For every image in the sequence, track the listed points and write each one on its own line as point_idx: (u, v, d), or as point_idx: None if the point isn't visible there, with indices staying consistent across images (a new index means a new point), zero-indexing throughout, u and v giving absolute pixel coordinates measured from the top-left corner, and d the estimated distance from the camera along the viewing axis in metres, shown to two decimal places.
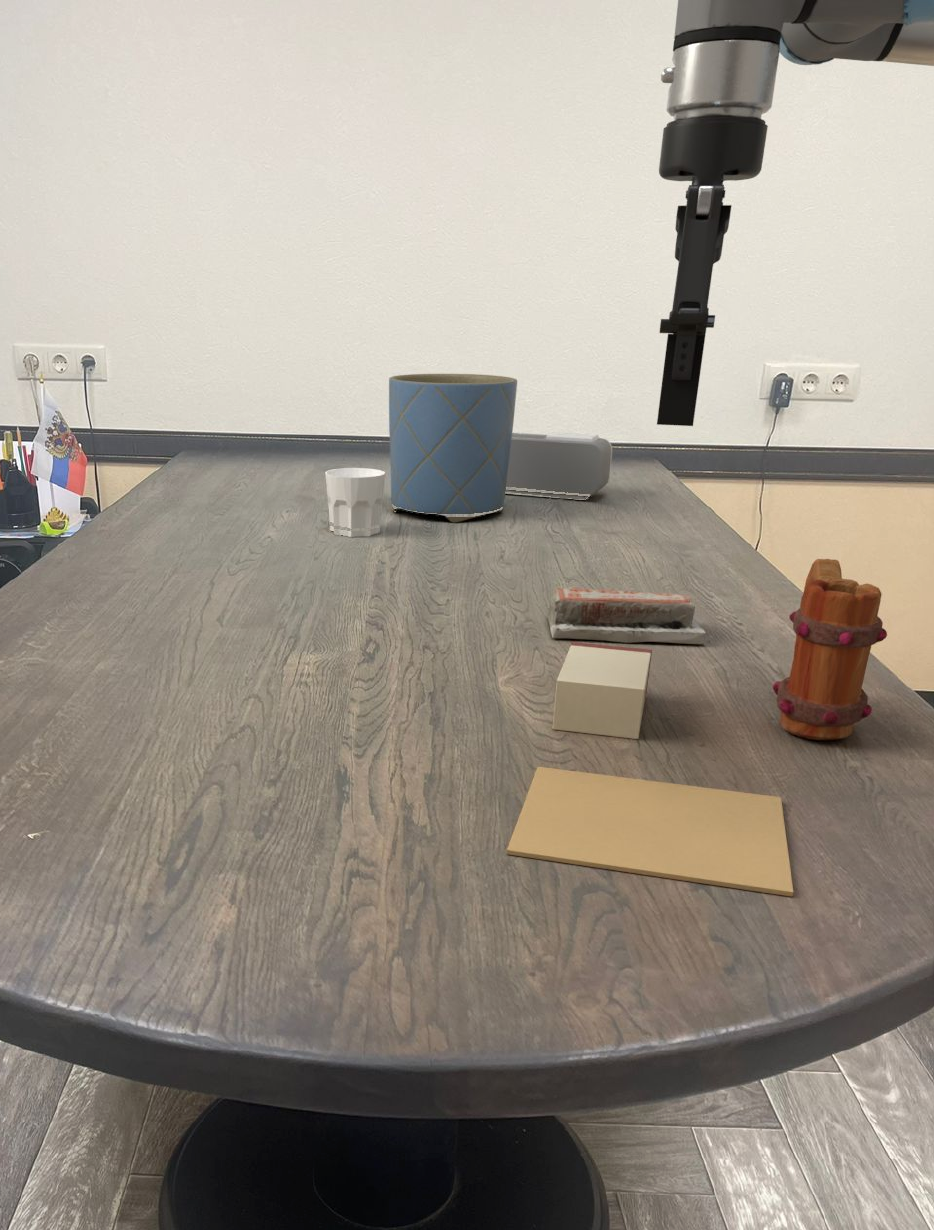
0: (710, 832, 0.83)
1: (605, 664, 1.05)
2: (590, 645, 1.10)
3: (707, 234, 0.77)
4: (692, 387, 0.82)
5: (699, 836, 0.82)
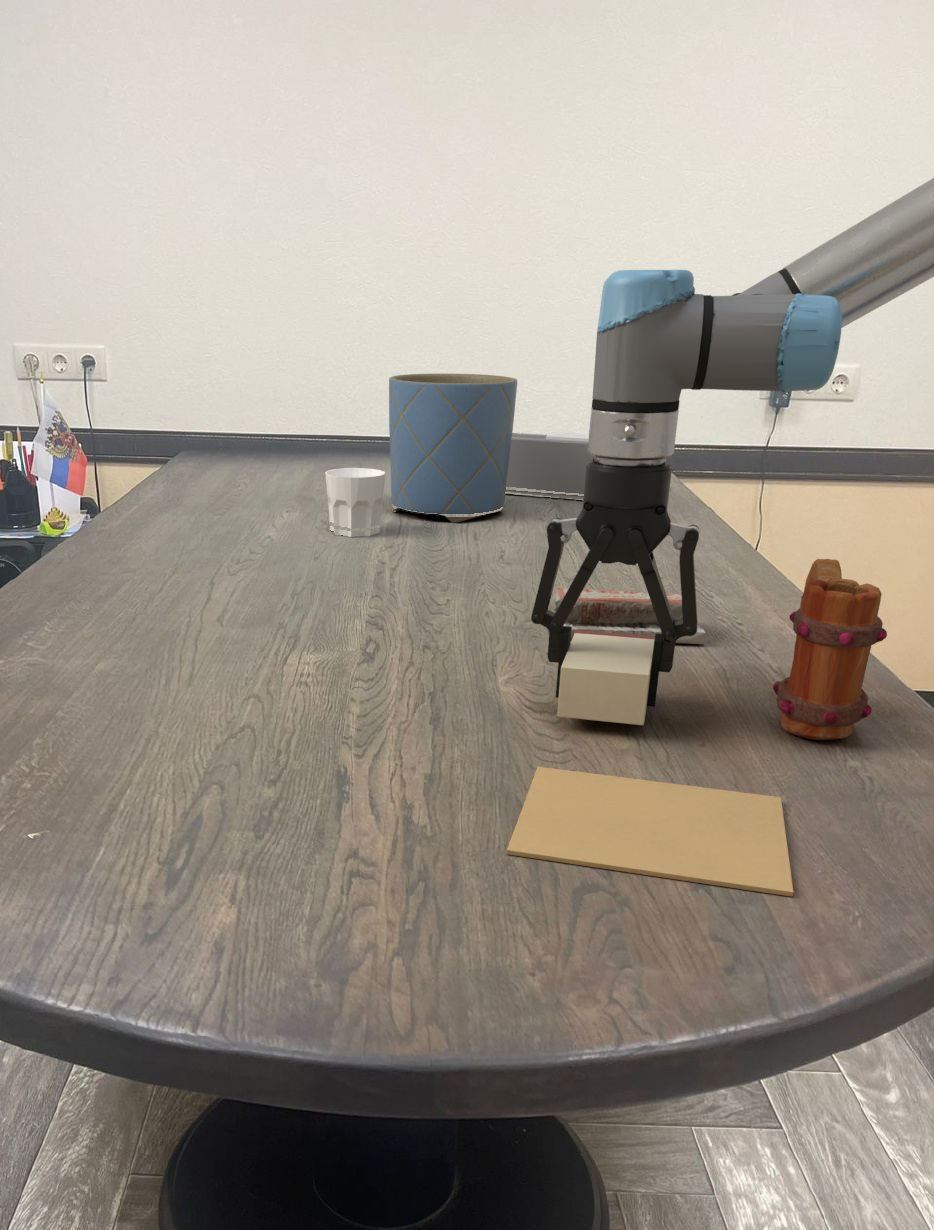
0: (710, 832, 0.83)
1: (610, 650, 1.04)
2: (594, 632, 1.10)
3: None
4: None
5: (699, 836, 0.82)
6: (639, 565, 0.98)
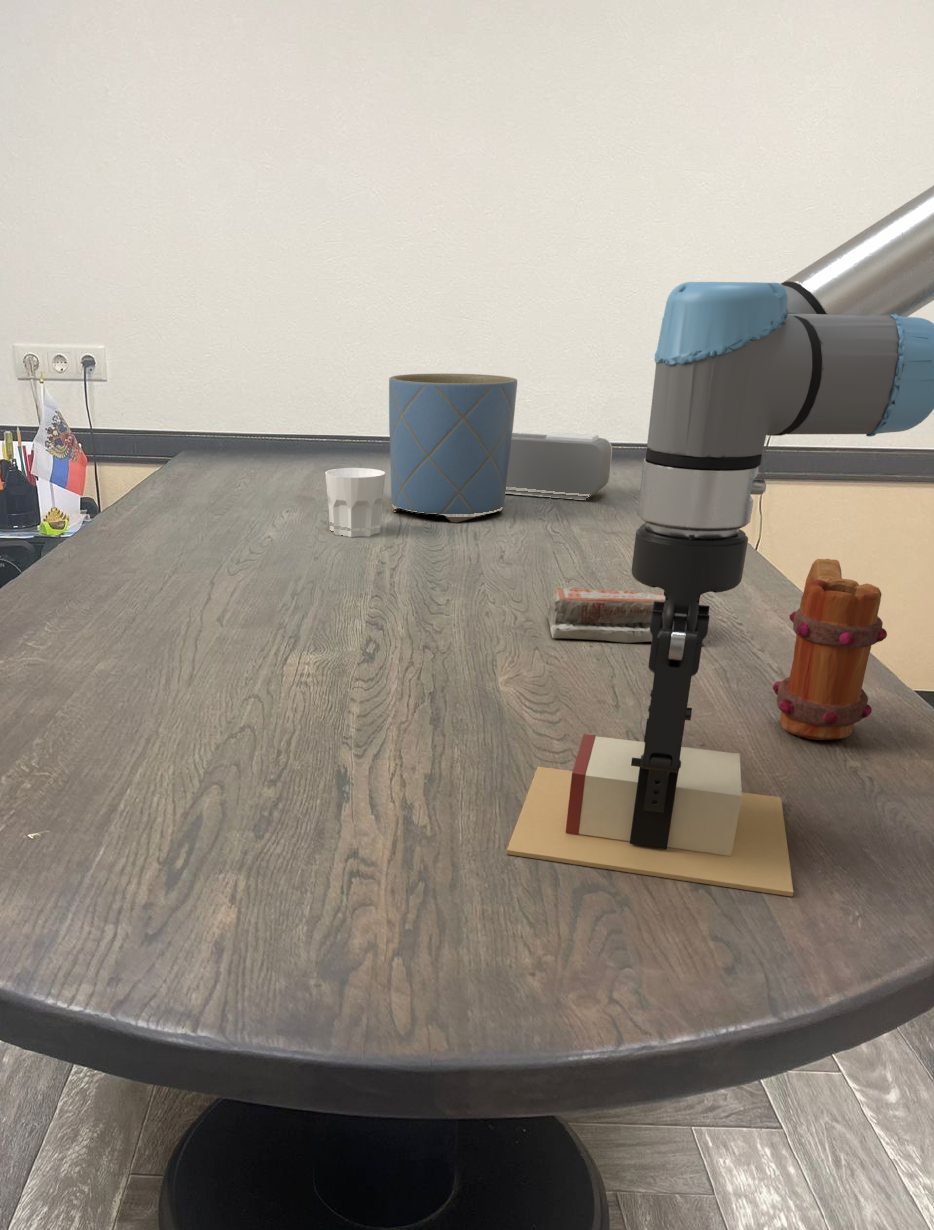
0: None
1: None
2: (578, 763, 0.82)
3: None
4: None
5: None
6: None
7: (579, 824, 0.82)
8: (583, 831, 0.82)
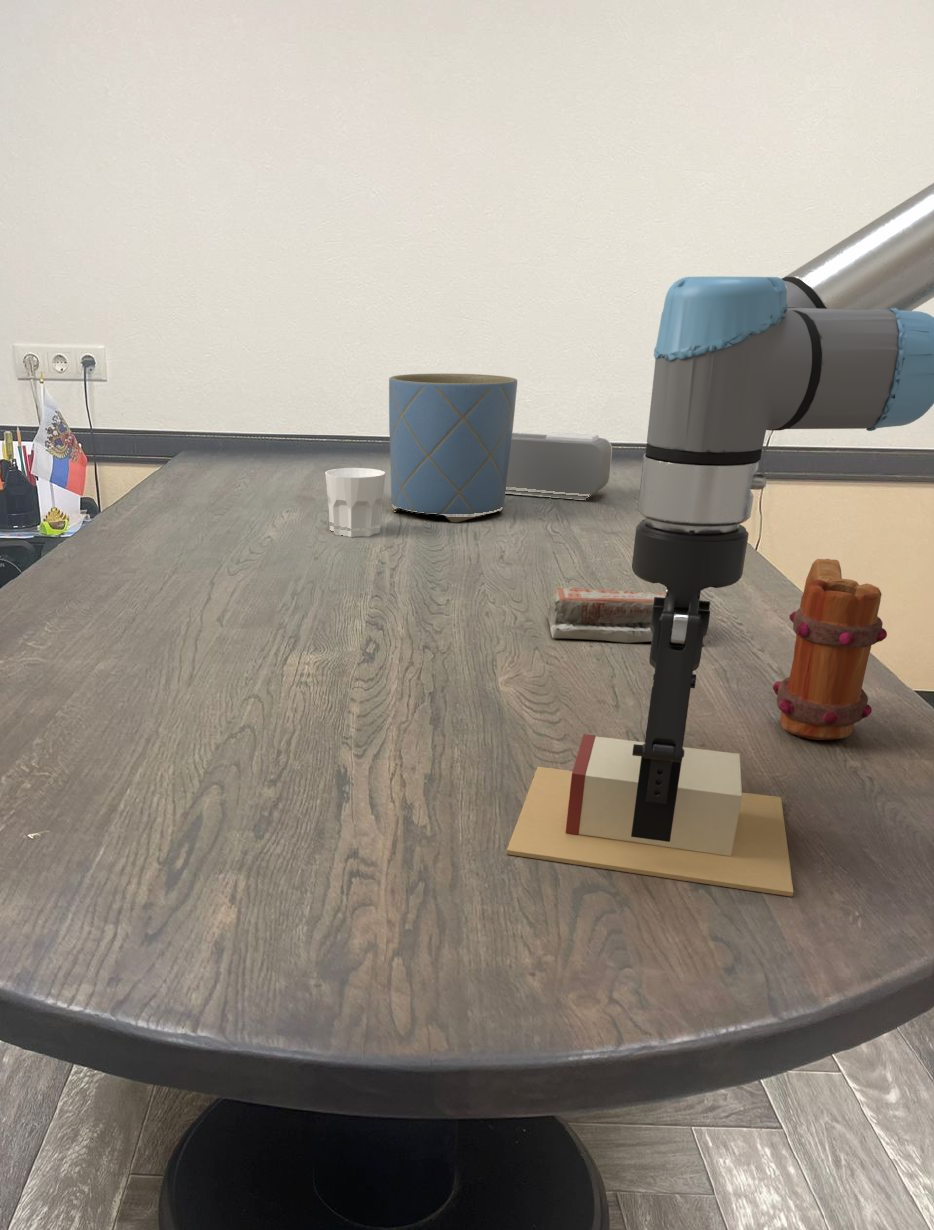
0: None
1: None
2: (578, 763, 0.82)
3: None
4: None
5: None
6: None
7: (579, 824, 0.82)
8: (583, 831, 0.82)
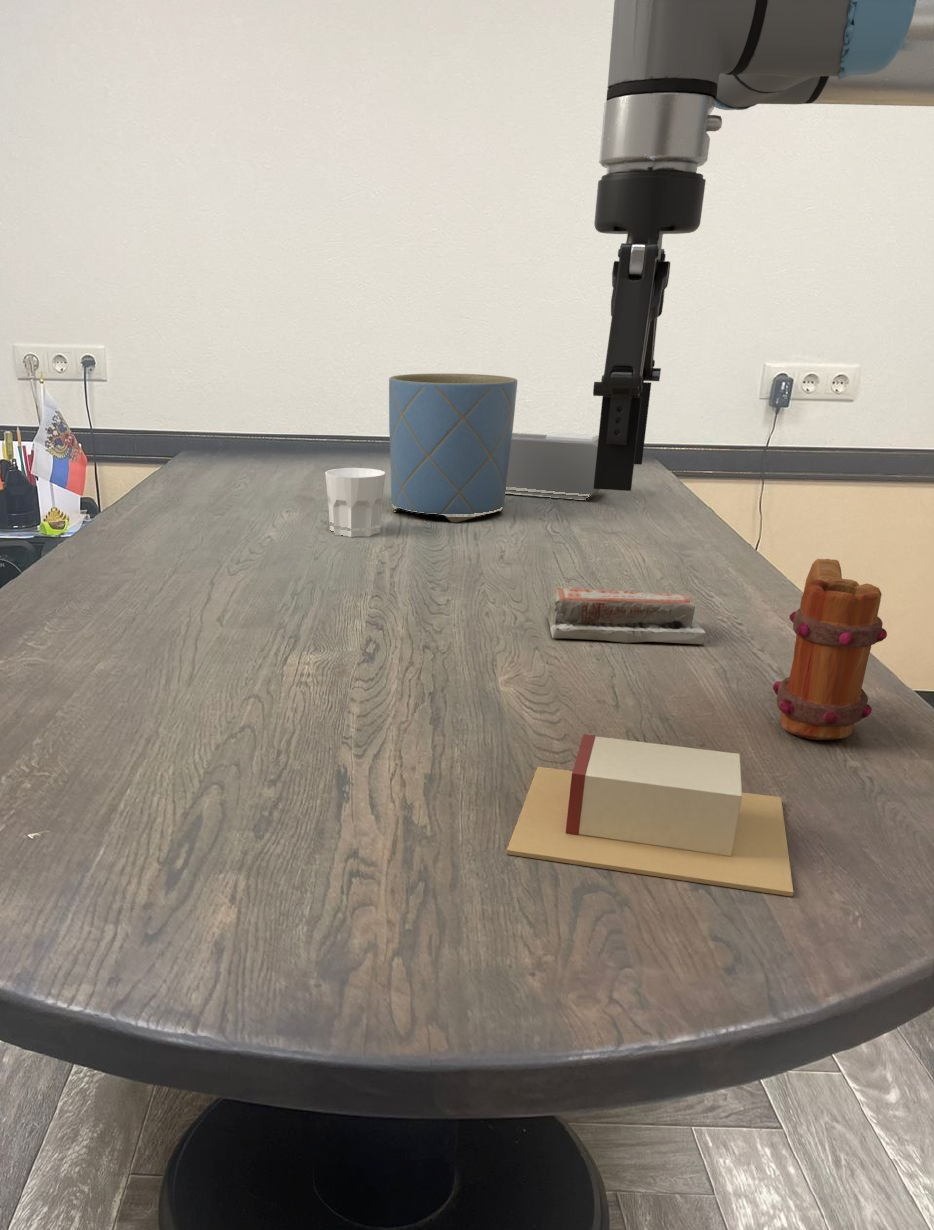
0: None
1: (657, 763, 0.82)
2: (578, 763, 0.82)
3: None
4: None
5: None
6: (662, 305, 0.83)
7: (579, 824, 0.82)
8: (583, 831, 0.82)
